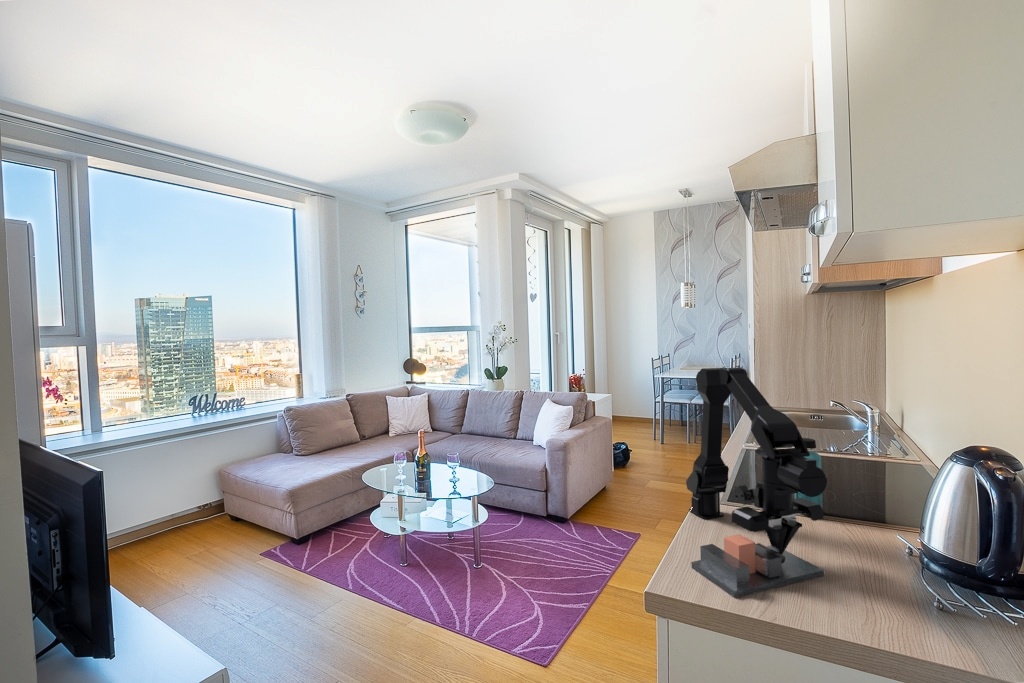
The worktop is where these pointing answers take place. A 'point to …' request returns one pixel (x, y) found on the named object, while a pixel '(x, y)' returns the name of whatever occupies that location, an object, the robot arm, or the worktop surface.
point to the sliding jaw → (768, 561)
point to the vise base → (736, 573)
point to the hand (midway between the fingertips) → (778, 554)
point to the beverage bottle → (813, 455)
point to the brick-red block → (741, 550)
